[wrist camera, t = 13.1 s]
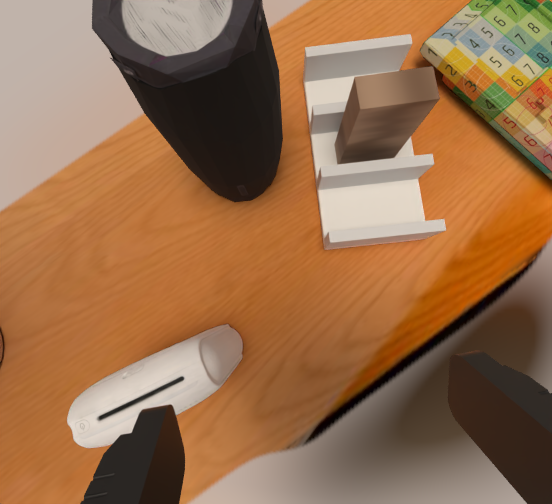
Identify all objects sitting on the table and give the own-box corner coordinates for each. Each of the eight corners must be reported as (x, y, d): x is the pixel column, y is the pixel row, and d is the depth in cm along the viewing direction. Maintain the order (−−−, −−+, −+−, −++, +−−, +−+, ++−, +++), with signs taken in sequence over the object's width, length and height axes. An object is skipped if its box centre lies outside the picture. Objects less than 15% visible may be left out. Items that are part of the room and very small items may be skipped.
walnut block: (337, 167, 31) (360, 109, 21) (334, 144, 32) (354, 76, 22) (392, 160, 31) (439, 98, 21) (388, 137, 32) (432, 66, 22)
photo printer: (155, 403, 30) (62, 478, 18) (139, 361, 31) (39, 407, 18) (250, 357, 30) (224, 401, 18) (233, 317, 31) (195, 333, 19)
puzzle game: (597, 182, 27) (428, 34, 29) (551, 199, 31) (409, 69, 34) (687, 96, 27) (514, -42, 30) (629, 125, 32) (484, 3, 34)
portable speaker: (205, 125, 34) (92, -105, 14) (290, 136, 33) (291, -88, 14) (190, 199, 33) (45, 61, 13) (277, 212, 32) (259, 87, 13)
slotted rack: (324, 249, 31) (330, 242, 27) (303, 79, 34) (305, 47, 29) (423, 239, 31) (446, 230, 27) (394, 68, 34) (410, 34, 29)
